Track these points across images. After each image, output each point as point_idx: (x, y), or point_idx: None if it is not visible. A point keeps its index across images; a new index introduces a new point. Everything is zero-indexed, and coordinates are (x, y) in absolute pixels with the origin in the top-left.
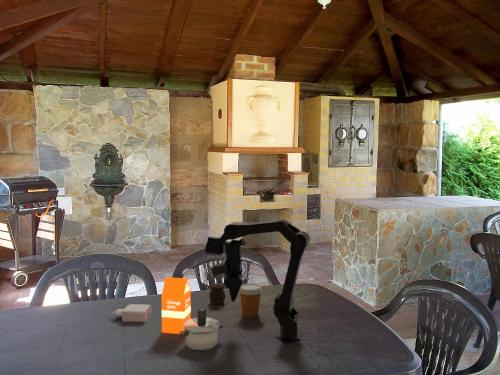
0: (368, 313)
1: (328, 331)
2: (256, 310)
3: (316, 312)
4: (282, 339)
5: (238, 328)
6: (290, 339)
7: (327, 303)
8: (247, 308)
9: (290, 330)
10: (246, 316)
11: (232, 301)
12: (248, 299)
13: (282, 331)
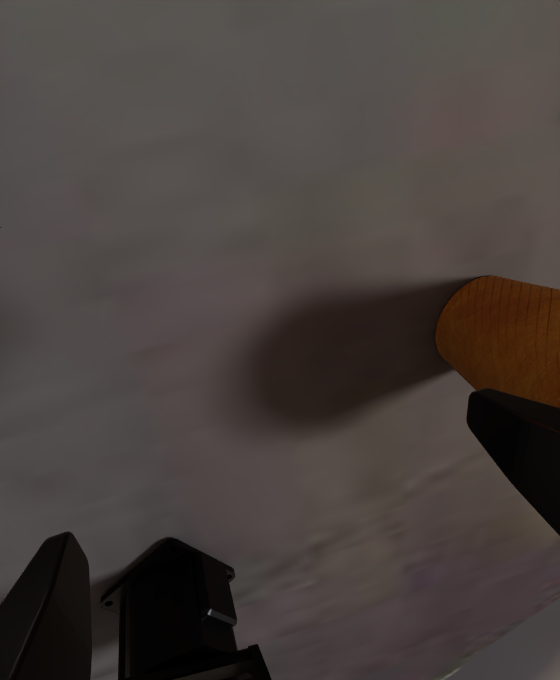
0: (448, 673)
1: (286, 655)
2: (471, 385)
3: (472, 564)
4: (125, 582)
5: (258, 308)
6: (121, 620)
7: (550, 562)
8: (478, 346)
9: (119, 677)
10: (445, 312)
11: (53, 547)
12: (530, 392)
13: (137, 619)
